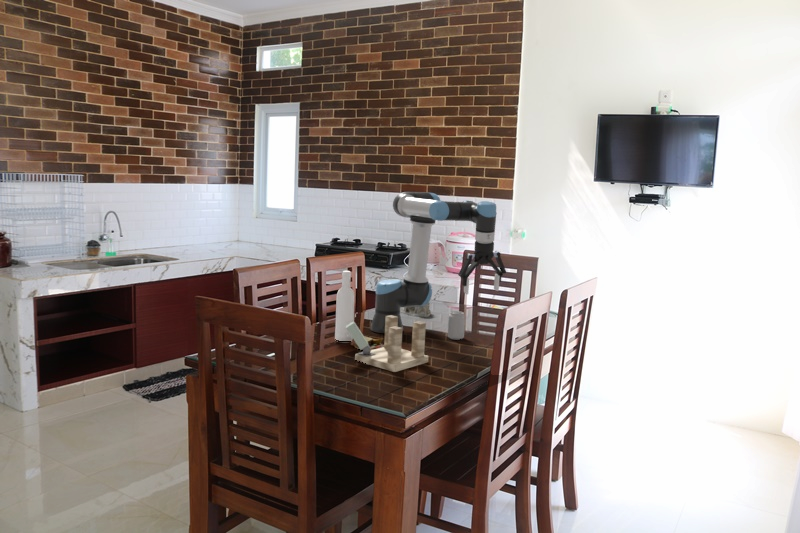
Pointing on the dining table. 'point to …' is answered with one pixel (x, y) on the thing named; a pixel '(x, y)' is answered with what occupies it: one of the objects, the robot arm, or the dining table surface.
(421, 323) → the stool
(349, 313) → the bottle
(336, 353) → the dining table surface
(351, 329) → the hinged leg
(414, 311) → the ceramic cottage
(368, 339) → the toy sandwich meal
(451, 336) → the can
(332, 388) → the dining table surface
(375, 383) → the dining table surface
